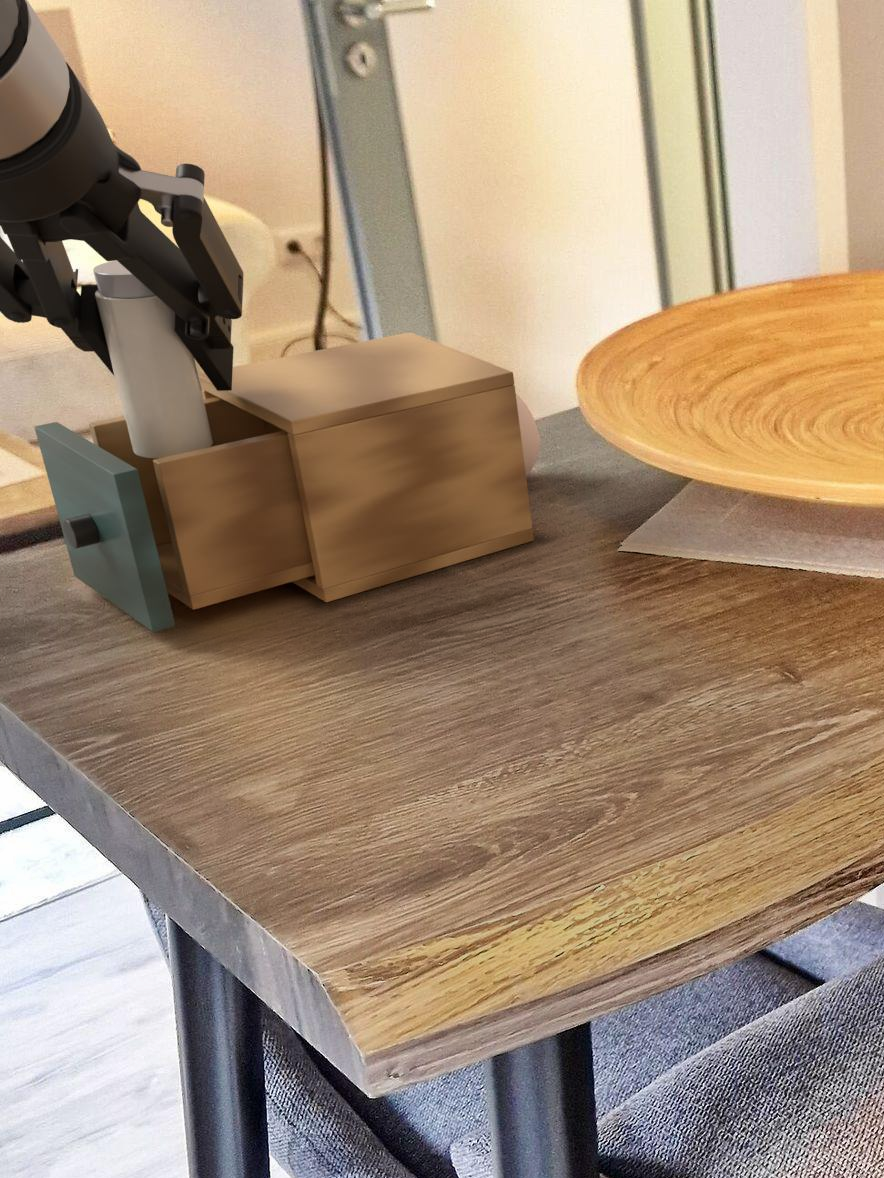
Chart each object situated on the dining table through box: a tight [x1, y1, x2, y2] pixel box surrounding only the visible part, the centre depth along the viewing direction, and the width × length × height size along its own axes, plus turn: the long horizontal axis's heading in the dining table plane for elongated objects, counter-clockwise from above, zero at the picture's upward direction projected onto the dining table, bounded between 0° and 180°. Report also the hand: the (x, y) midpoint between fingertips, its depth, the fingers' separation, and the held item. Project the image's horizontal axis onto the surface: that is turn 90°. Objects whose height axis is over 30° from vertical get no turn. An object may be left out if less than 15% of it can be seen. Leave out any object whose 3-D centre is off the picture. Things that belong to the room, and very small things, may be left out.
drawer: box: [33, 397, 315, 633], centre depth 95 cm, size 14×10×9 cm
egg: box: [516, 393, 540, 477], centre depth 112 cm, size 5×5×7 cm
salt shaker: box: [92, 260, 213, 459], centre depth 90 cm, size 4×4×10 cm
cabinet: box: [198, 331, 535, 603], centre depth 101 cm, size 14×12×11 cm
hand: (180, 368), depth 94 cm, fingers closed on salt shaker, 4 cm apart
